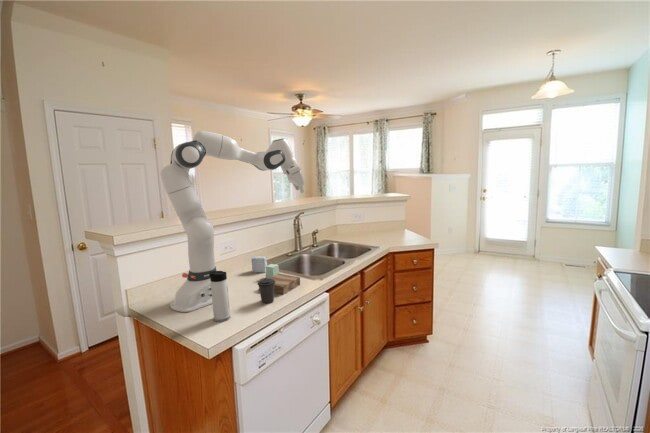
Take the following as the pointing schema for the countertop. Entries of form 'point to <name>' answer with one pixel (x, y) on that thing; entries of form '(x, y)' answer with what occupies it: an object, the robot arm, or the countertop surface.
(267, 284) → the coffee cup
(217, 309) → the travel mug
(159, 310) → the countertop surface
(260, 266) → the medicine box
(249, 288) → the countertop surface
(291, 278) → the walnut base
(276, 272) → the sage block
